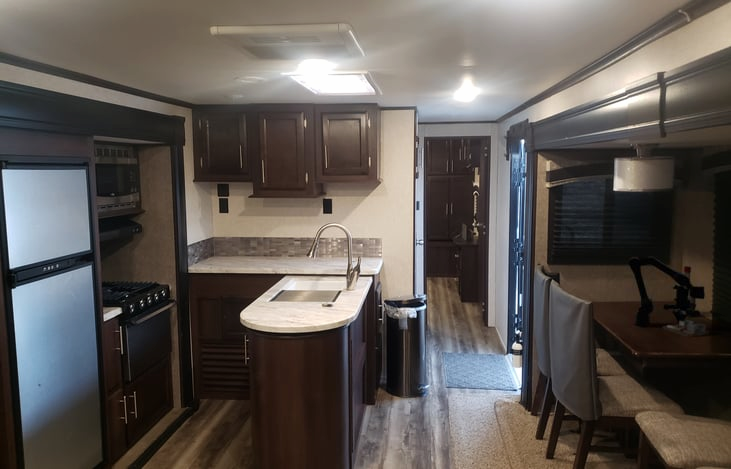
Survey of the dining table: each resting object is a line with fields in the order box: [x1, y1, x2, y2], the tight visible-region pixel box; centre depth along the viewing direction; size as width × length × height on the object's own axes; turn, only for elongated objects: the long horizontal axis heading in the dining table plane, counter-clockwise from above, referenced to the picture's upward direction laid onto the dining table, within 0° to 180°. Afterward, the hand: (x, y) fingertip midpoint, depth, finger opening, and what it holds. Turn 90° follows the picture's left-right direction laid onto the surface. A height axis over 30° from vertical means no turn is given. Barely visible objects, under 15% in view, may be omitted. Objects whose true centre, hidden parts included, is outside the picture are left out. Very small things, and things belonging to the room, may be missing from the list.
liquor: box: [679, 265, 697, 318], centre depth 321 cm, size 9×9×30 cm
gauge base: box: [662, 322, 709, 338], centre depth 288 cm, size 14×16×6 cm
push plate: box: [676, 319, 694, 329], centre depth 288 cm, size 10×3×4 cm, turn 107°
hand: (680, 325), depth 292 cm, fingers closed
